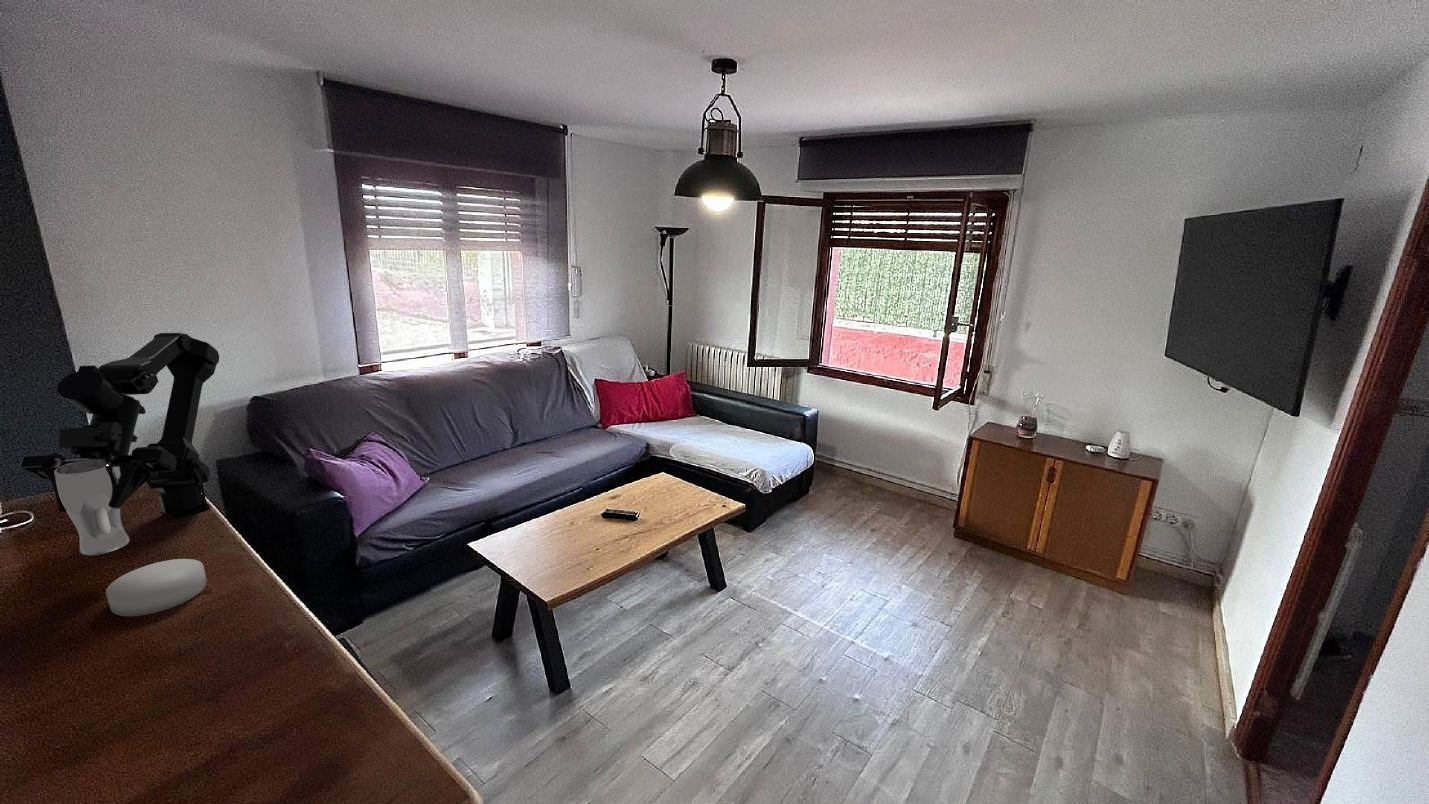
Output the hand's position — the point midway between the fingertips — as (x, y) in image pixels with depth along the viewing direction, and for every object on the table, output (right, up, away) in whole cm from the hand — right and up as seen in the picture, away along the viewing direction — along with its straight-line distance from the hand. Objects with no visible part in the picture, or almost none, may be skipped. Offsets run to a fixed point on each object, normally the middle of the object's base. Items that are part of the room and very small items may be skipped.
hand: (89, 510), depth 98 cm
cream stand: (+11, -14, +1) cm, 18 cm away
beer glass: (-1, -7, +4) cm, 8 cm away
